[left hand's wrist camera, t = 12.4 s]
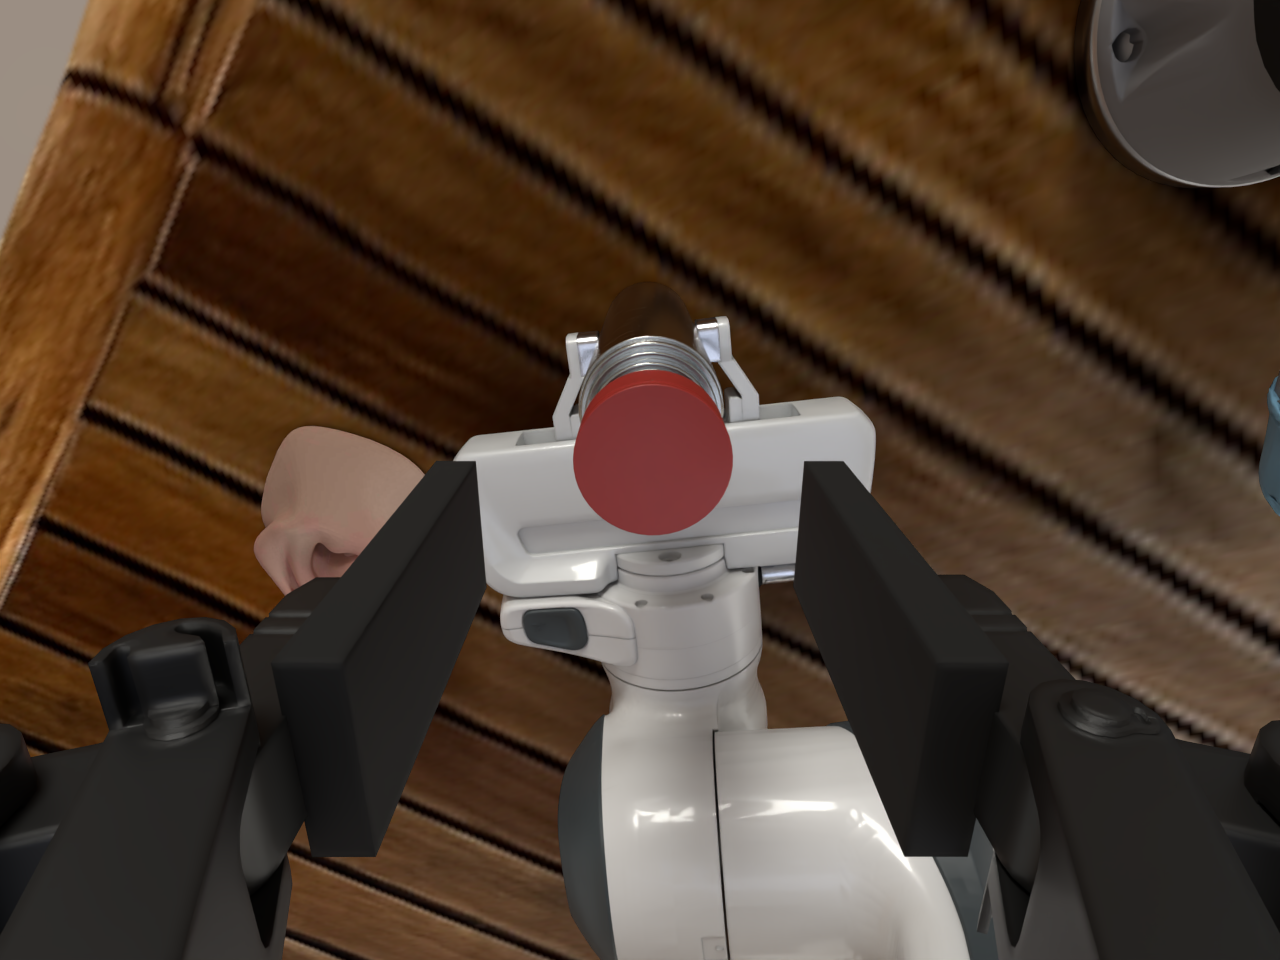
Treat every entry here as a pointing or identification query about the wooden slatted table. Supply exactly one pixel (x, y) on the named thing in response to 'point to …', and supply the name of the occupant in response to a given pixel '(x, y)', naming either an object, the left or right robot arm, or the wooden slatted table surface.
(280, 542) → the anatomical model
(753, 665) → the right robot arm
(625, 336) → the bottle
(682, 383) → the cap
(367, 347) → the wooden slatted table surface
